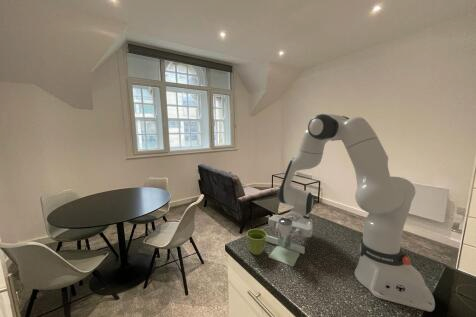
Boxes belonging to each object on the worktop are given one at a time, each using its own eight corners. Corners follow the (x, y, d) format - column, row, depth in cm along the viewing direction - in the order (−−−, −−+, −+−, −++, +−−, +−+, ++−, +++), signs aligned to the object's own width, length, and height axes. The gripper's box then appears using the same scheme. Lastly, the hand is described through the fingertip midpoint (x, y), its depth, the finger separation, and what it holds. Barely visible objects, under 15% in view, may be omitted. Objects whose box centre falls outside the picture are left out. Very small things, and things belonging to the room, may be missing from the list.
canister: (292, 243, 88) (294, 220, 86) (288, 249, 83) (289, 225, 81) (280, 239, 91) (281, 216, 89) (275, 245, 86) (276, 221, 85)
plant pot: (266, 246, 95) (266, 229, 94) (267, 258, 86) (267, 240, 84) (247, 244, 96) (247, 228, 95) (245, 257, 87) (246, 238, 85)
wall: (304, 253, 89) (304, 247, 89) (303, 254, 89) (304, 247, 88) (264, 239, 100) (264, 234, 100) (264, 240, 100) (264, 235, 99)
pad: (299, 254, 89) (300, 253, 89) (292, 266, 80) (293, 265, 80) (277, 246, 95) (277, 245, 95) (268, 257, 86) (268, 256, 86)
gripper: (274, 209, 102) (263, 219, 91) (315, 219, 91) (308, 232, 79) (274, 220, 103) (262, 232, 92) (314, 232, 92) (307, 246, 80)
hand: (284, 232), depth 85 cm, fingers closed on canister, 6 cm apart
